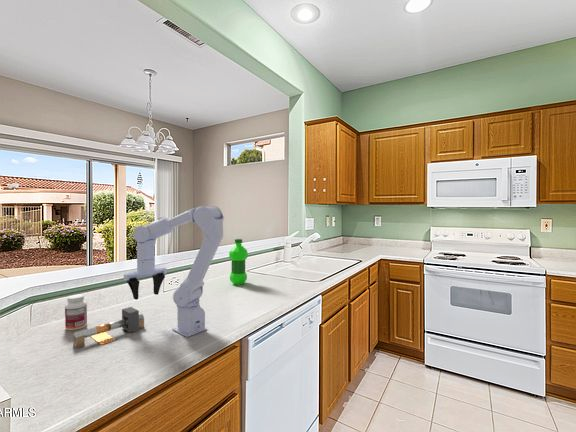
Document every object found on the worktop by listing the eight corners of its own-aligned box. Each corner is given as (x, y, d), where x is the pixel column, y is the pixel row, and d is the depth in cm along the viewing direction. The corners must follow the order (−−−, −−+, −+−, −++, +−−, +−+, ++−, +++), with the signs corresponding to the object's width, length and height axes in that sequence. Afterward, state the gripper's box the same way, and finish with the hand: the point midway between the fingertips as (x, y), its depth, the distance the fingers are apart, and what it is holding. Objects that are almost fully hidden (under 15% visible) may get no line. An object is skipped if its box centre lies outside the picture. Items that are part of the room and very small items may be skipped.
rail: (136, 323, 106) (136, 311, 105) (148, 329, 100) (148, 316, 100) (70, 342, 90) (70, 328, 90) (80, 351, 84) (79, 337, 84)
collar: (131, 325, 103) (130, 306, 102) (138, 329, 99) (138, 310, 99) (122, 327, 100) (121, 309, 100) (129, 332, 97) (129, 313, 96)
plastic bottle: (232, 281, 167) (232, 238, 166) (249, 281, 165) (250, 238, 165) (226, 285, 157) (226, 240, 156) (244, 286, 155) (245, 240, 155)
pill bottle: (72, 323, 104) (72, 293, 104) (90, 323, 105) (90, 293, 105) (60, 331, 98) (60, 299, 98) (80, 330, 99) (79, 298, 98)
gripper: (159, 255, 111) (160, 289, 112) (119, 260, 100) (119, 299, 100) (169, 257, 107) (169, 293, 107) (128, 262, 96) (128, 303, 96)
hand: (146, 296), depth 104 cm, fingers open, 7 cm apart
